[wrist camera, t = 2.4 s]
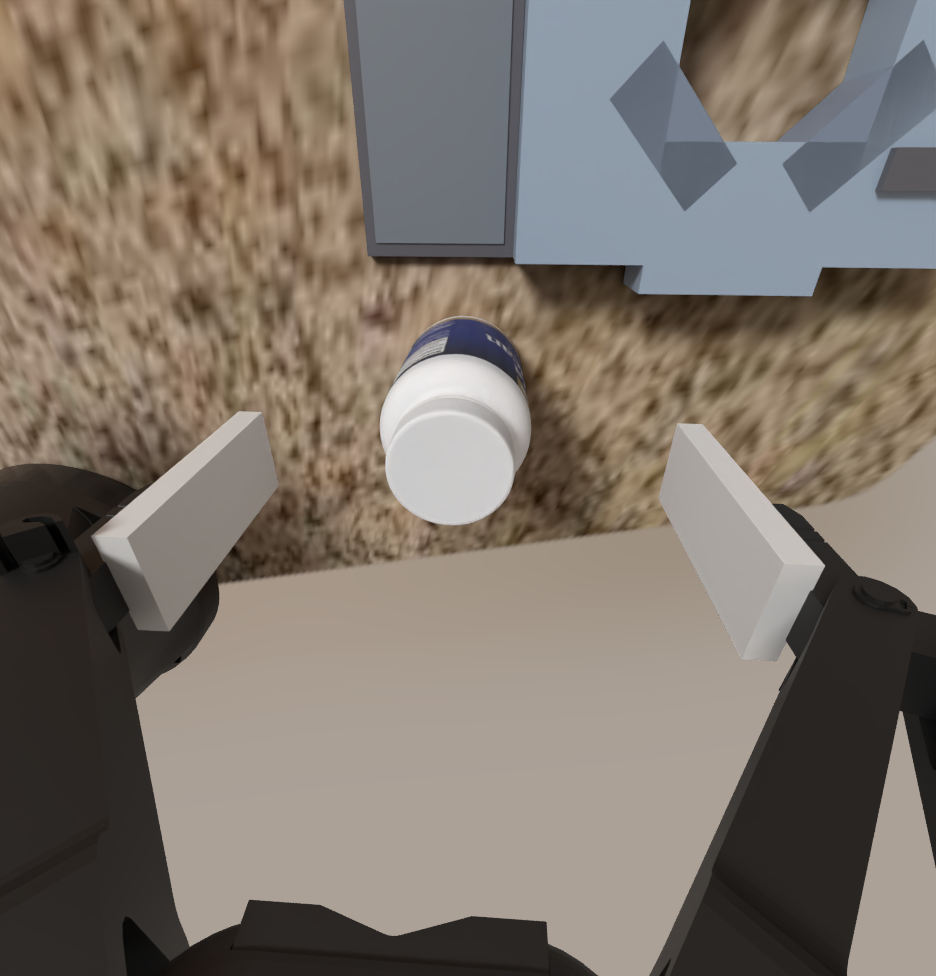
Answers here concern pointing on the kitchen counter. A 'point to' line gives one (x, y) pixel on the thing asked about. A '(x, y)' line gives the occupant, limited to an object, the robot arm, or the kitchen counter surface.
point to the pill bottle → (456, 422)
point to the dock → (719, 157)
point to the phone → (437, 123)
